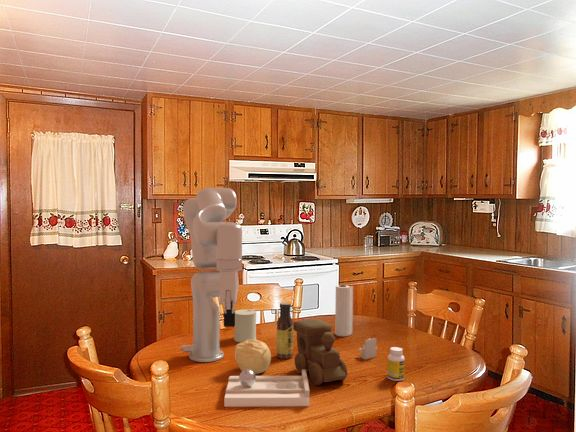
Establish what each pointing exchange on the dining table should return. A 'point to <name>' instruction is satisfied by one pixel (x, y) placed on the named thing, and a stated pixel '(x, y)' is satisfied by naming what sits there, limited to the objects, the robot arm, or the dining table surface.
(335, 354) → the wooden toy train
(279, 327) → the sauce bottle
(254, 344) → the sculpture
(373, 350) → the architectural model
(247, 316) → the can
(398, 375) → the supplement bottle
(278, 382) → the white tray
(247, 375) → the steel ball
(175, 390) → the dining table surface
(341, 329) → the paper towel roll
